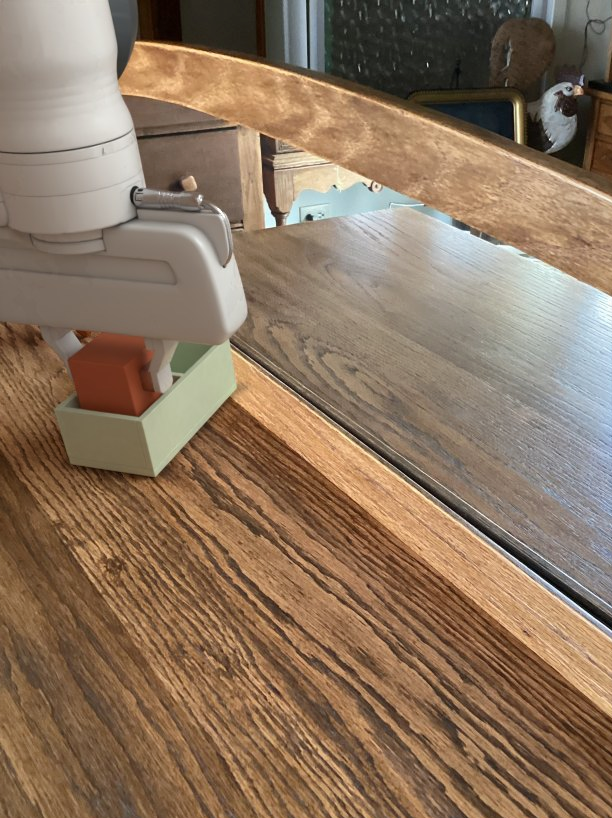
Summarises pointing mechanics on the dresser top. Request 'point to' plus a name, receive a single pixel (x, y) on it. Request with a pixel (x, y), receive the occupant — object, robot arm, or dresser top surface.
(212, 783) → the dresser top surface
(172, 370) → the sorting tray
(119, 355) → the terracotta block
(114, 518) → the dresser top surface
